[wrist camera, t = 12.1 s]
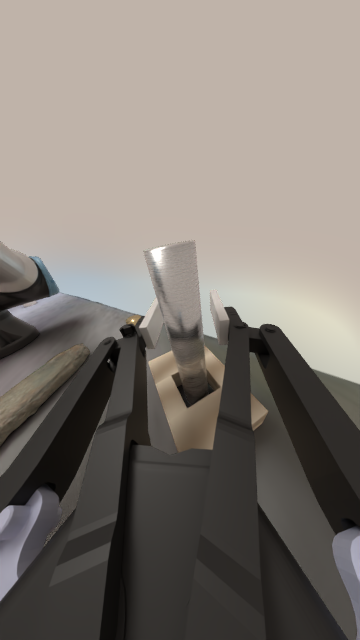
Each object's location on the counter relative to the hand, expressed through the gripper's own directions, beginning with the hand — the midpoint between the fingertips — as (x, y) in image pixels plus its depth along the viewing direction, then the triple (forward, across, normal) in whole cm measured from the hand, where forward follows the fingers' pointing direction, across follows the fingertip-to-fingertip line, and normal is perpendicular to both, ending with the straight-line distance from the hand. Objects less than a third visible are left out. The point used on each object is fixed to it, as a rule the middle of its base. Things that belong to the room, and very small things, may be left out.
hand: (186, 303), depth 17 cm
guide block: (-5, 0, -13) cm, 14 cm away
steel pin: (-5, 0, -13) cm, 14 cm away
